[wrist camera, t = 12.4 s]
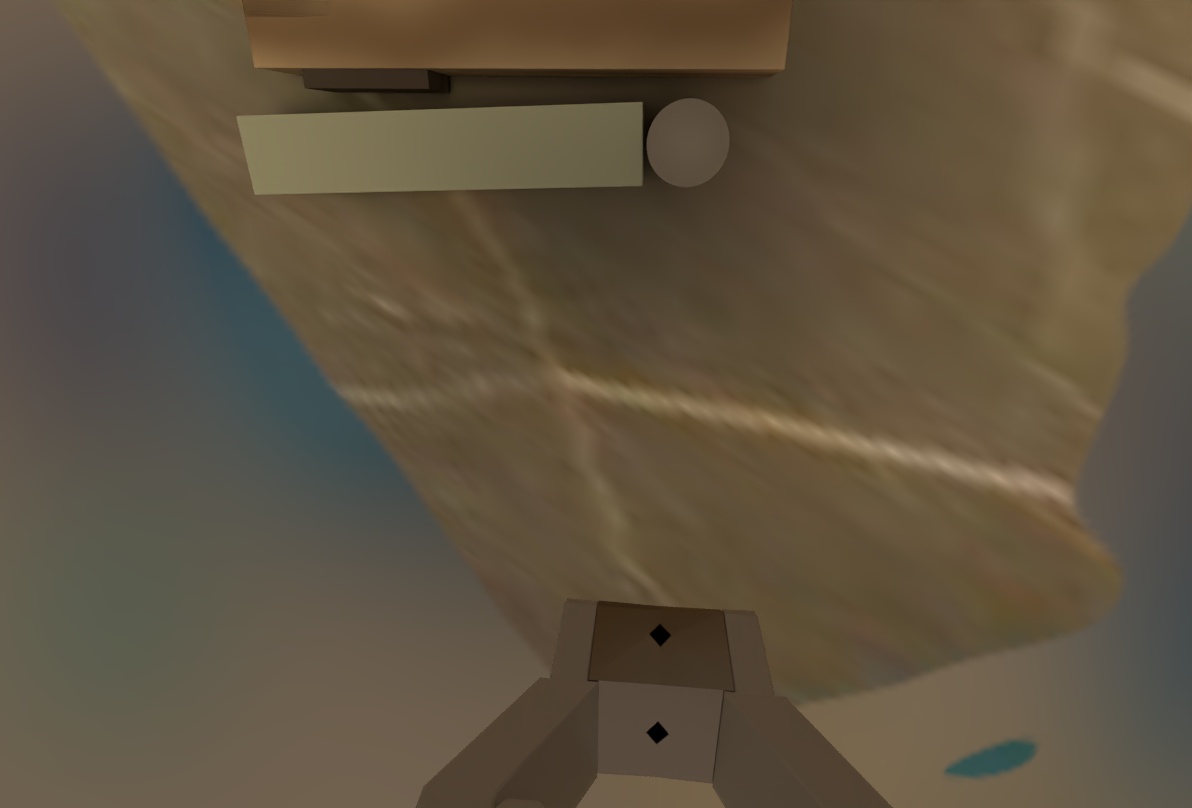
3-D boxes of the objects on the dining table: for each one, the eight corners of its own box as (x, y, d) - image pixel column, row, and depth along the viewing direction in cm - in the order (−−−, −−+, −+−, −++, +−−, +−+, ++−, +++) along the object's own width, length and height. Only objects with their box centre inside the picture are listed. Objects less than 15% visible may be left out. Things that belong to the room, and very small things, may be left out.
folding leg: (720, 102, 31) (732, 96, 26) (716, 179, 32) (727, 186, 28) (285, 117, 33) (225, 114, 28) (300, 188, 34) (245, 197, 30)
